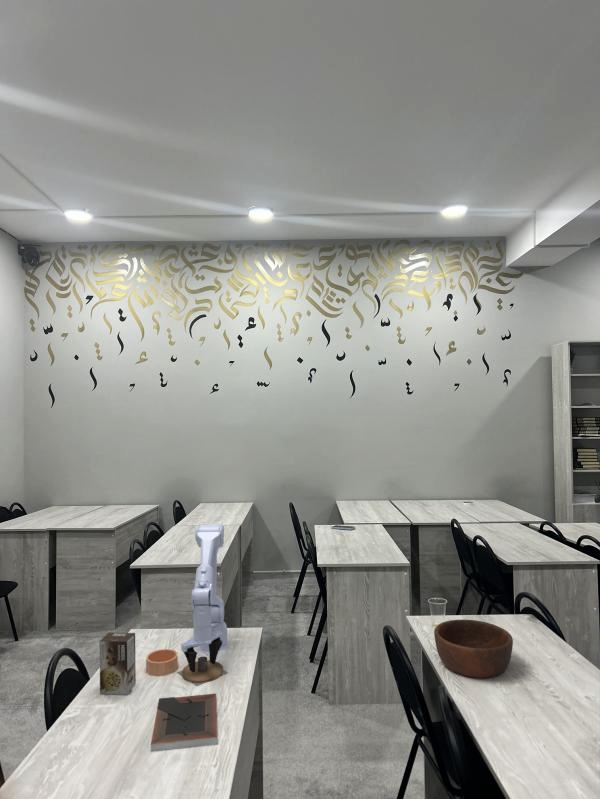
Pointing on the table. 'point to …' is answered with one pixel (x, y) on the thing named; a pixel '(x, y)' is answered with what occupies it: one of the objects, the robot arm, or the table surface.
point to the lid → (202, 671)
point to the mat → (203, 682)
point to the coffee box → (117, 663)
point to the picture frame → (185, 722)
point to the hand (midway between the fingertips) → (202, 666)
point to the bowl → (162, 662)
